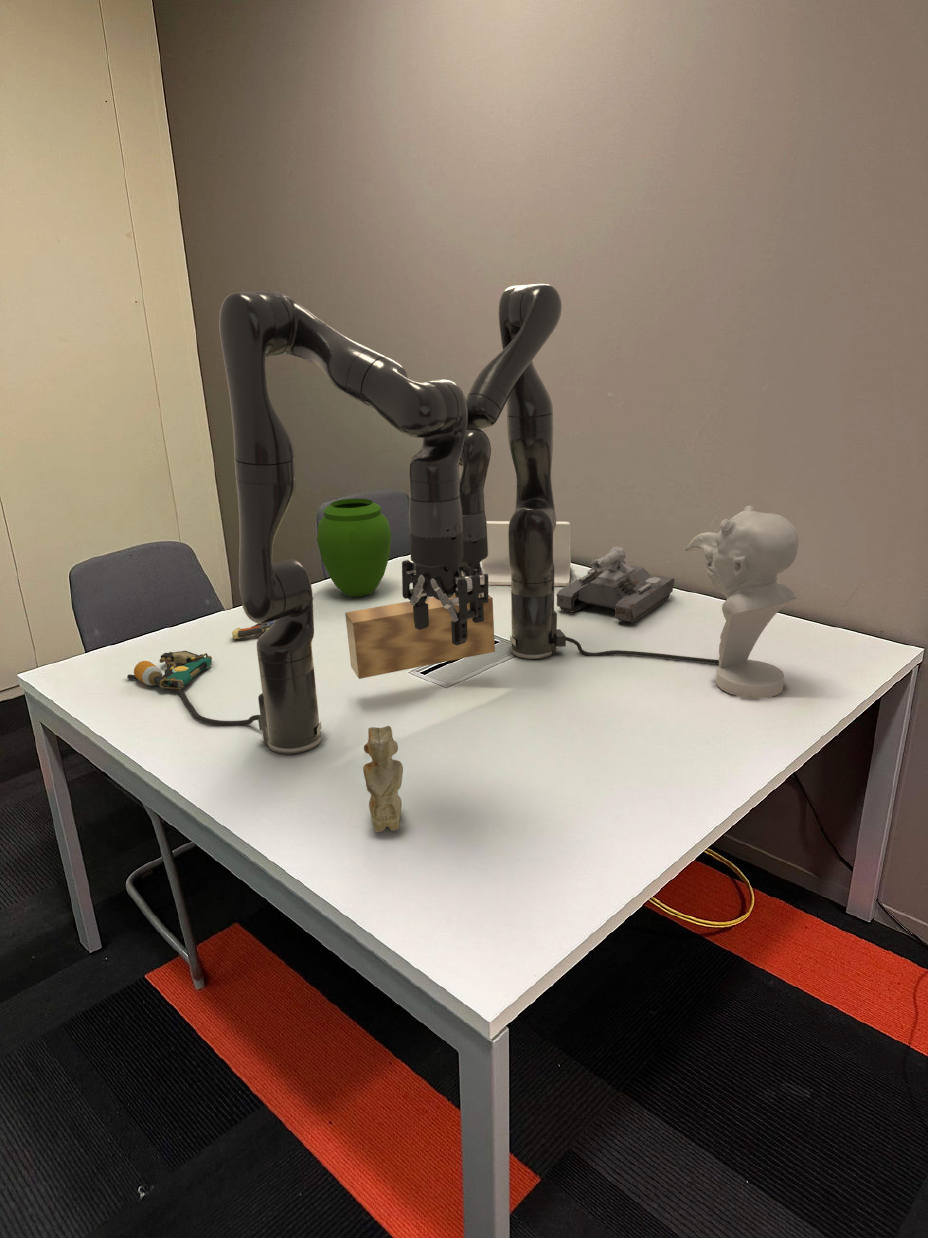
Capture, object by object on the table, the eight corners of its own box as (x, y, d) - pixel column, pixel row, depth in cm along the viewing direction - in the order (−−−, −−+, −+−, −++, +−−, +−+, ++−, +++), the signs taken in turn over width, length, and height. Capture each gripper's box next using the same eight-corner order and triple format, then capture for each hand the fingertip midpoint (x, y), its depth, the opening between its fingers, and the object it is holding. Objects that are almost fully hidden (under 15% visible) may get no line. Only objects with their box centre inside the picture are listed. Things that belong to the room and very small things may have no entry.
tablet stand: (569, 585, 229) (570, 524, 223) (476, 584, 232) (475, 523, 226) (570, 566, 246) (571, 508, 240) (484, 564, 249) (483, 507, 243)
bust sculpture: (717, 648, 186) (730, 489, 174) (806, 688, 166) (828, 512, 154) (660, 663, 179) (669, 500, 167) (745, 707, 159) (763, 525, 147)
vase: (409, 587, 231) (404, 499, 223) (364, 609, 216) (357, 515, 208) (353, 577, 241) (346, 492, 233) (306, 597, 226) (297, 507, 218)
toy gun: (228, 631, 198) (268, 628, 196) (261, 608, 215) (298, 605, 213) (230, 642, 198) (270, 639, 196) (263, 618, 216) (300, 616, 214)
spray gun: (177, 659, 191) (231, 671, 185) (120, 684, 176) (176, 698, 171) (176, 641, 190) (230, 653, 184) (118, 665, 175) (174, 678, 169)
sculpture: (406, 808, 131) (401, 721, 126) (405, 835, 125) (400, 745, 119) (368, 810, 131) (361, 723, 126) (365, 837, 124) (358, 747, 119)
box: (483, 641, 175) (480, 588, 171) (495, 651, 169) (492, 597, 165) (351, 667, 166) (345, 612, 162) (358, 679, 160) (352, 622, 156)
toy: (603, 584, 229) (605, 530, 224) (673, 597, 218) (677, 540, 213) (555, 612, 210) (556, 553, 205) (630, 627, 199) (633, 566, 194)
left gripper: (384, 524, 122) (390, 630, 128) (448, 543, 112) (452, 656, 118) (424, 515, 127) (429, 617, 133) (490, 532, 117) (492, 641, 122)
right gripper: (436, 528, 168) (442, 608, 173) (462, 545, 155) (467, 631, 161) (472, 523, 170) (476, 602, 176) (500, 539, 157) (503, 624, 163)
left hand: (440, 635), depth 125 cm, fingers open, 8 cm apart
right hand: (471, 616), depth 168 cm, fingers closed on box, 6 cm apart
